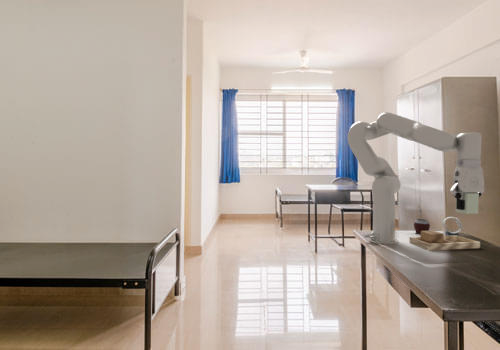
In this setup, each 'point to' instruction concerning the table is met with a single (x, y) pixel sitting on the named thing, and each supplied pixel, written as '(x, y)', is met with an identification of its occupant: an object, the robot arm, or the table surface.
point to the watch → (456, 223)
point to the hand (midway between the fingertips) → (466, 208)
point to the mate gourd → (421, 224)
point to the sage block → (470, 203)
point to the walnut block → (432, 237)
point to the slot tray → (446, 243)
